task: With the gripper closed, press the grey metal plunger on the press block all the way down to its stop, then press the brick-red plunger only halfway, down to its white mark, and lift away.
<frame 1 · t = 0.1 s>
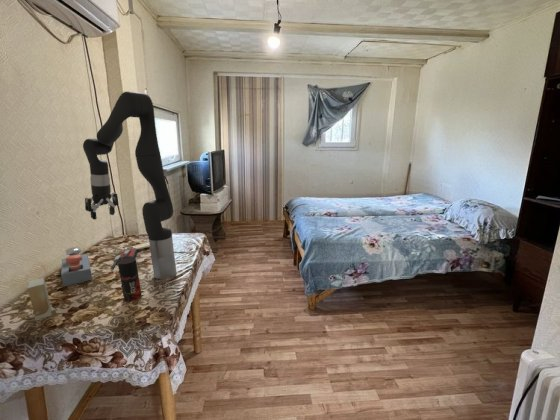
hand: (103, 216, 138), 22 cm above the table, tool pointing down, fingers open, 8 cm apart
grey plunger: (74, 256, 133), point 7 cm above the table, slide at 0.0 cm
deodorant: (133, 297, 111), on the table
red plunger: (75, 264, 124), point 7 cm above the table, slide at 0.0 cm
skincare box: (44, 314, 101), on the table
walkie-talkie: (125, 261, 144), on the table
press block: (77, 274, 131), on the table
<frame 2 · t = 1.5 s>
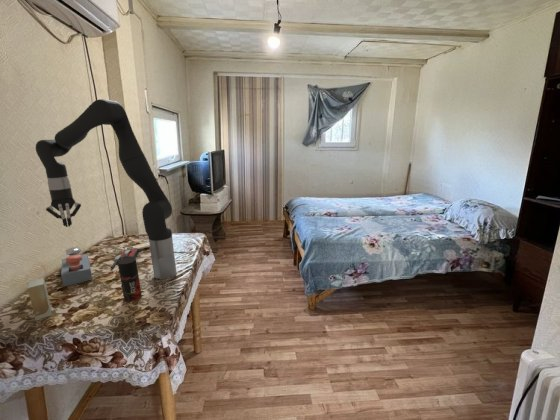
hand: (68, 226, 130), 21 cm above the table, tool pointing down, fingers closed
nothing on the table moved.
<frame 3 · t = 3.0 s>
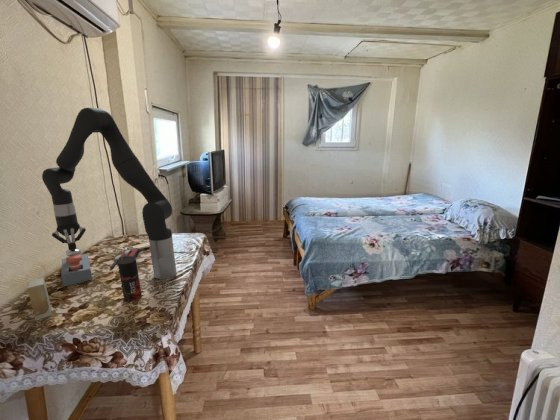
hand: (73, 250, 132), 10 cm above the table, tool pointing down, fingers closed
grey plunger: (74, 257, 133), point 6 cm above the table, slide at 0.4 cm, touching gripper
everything else where it was.
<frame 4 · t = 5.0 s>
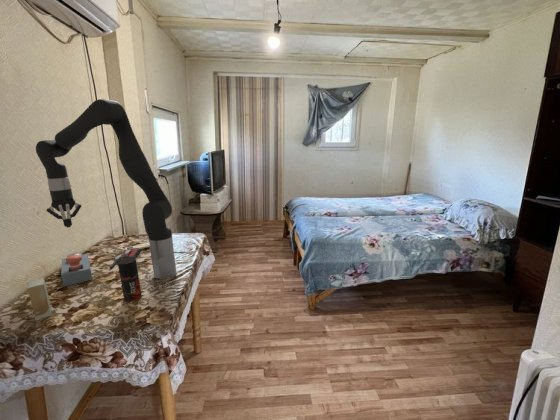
hand: (68, 226, 129), 21 cm above the table, tool pointing down, fingers closed
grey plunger: (75, 261, 134), point 4 cm above the table, slide at 2.7 cm
everything else where it was.
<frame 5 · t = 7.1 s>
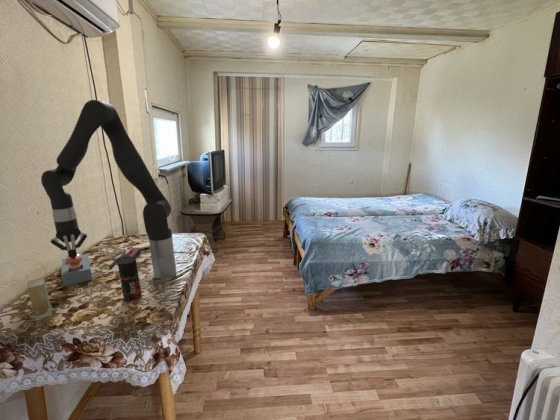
hand: (73, 257, 124), 10 cm above the table, tool pointing down, fingers closed
red plunger: (75, 264, 125), point 7 cm above the table, slide at 0.2 cm, touching gripper
everything else where it was.
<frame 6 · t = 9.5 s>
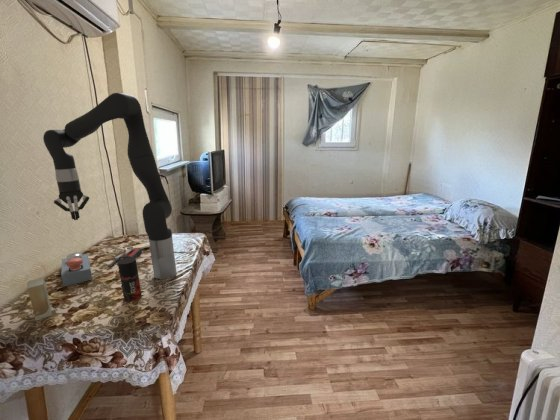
hand: (76, 219, 126), 25 cm above the table, tool pointing down, fingers closed
red plunger: (75, 267, 125), point 5 cm above the table, slide at 1.5 cm
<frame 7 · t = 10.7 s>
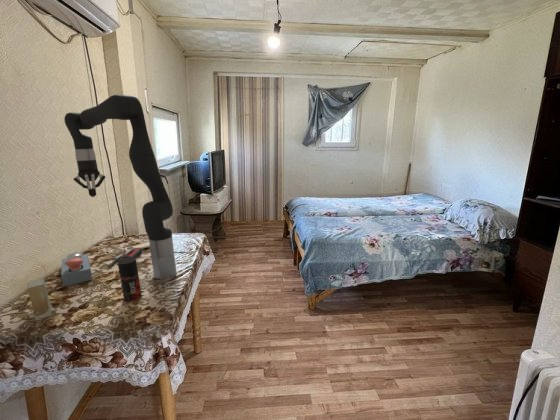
hand: (93, 196, 137), 32 cm above the table, tool pointing down, fingers closed
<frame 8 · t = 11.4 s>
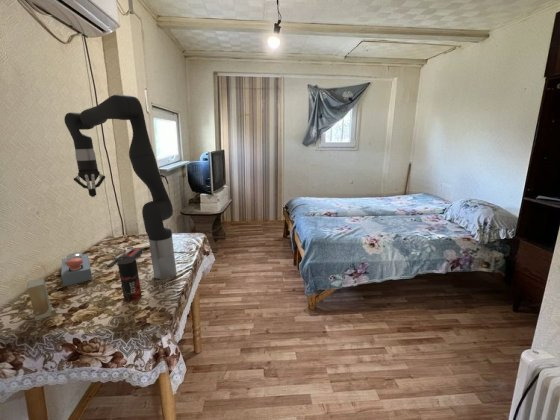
hand: (93, 196, 137), 32 cm above the table, tool pointing down, fingers closed
at the end: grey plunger slide at 2.7 cm; red plunger slide at 1.5 cm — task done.
